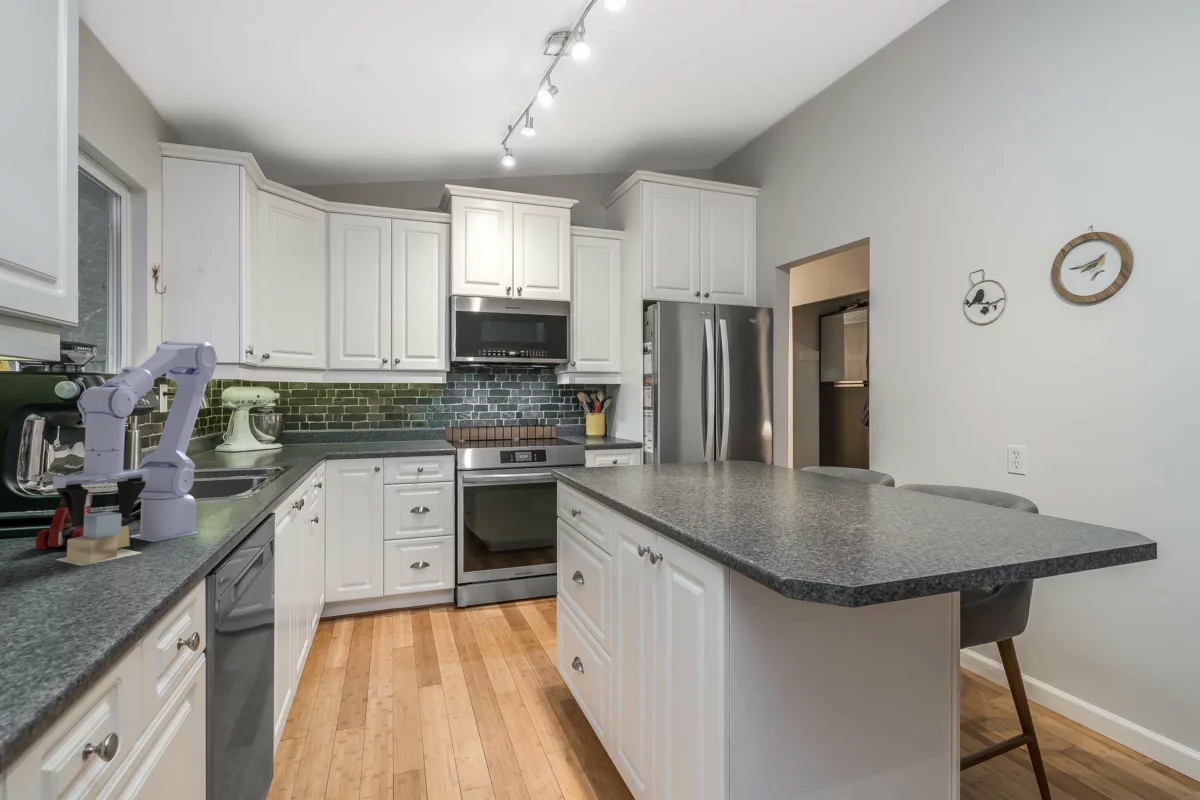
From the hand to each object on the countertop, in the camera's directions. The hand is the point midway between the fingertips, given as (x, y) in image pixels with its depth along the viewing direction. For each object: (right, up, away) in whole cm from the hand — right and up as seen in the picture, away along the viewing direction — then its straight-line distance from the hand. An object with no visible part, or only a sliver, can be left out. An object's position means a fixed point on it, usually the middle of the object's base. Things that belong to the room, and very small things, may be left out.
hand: (101, 521), depth 110 cm
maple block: (0, -7, -2) cm, 7 cm away
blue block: (0, -3, 0) cm, 3 cm away
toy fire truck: (-13, -7, +7) cm, 16 cm away
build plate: (0, -7, 0) cm, 7 cm away
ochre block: (-3, -7, +5) cm, 9 cm away
